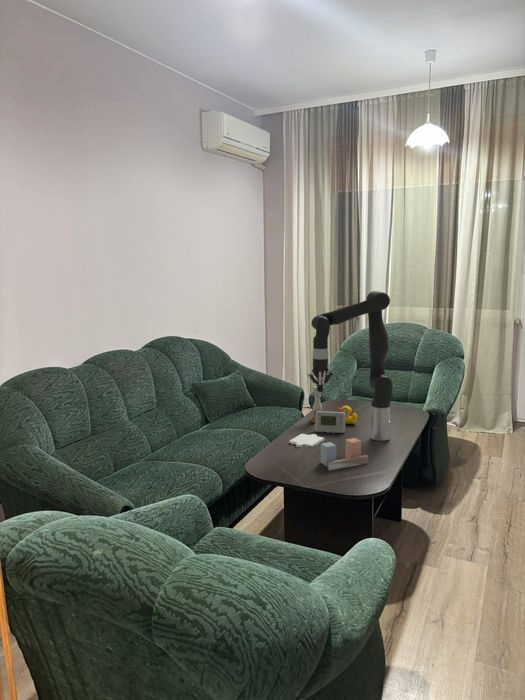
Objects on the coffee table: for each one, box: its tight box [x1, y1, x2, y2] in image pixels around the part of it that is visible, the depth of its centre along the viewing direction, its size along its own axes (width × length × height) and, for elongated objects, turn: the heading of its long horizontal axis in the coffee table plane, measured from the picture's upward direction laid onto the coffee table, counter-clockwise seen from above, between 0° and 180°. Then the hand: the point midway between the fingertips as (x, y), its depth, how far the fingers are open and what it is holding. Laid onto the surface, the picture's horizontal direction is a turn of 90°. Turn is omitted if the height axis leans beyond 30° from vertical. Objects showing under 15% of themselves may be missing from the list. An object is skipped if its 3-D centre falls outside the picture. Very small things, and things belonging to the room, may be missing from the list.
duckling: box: [337, 405, 358, 425], centre depth 300 cm, size 11×5×10 cm, turn 61°
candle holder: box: [309, 384, 325, 424], centre depth 304 cm, size 9×9×20 cm
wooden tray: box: [327, 454, 369, 472], centre depth 244 cm, size 14×20×4 cm
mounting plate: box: [288, 433, 325, 448], centre depth 272 cm, size 18×13×2 cm
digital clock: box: [314, 410, 346, 434], centre depth 287 cm, size 16×9×11 cm, turn 68°
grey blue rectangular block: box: [320, 441, 337, 467], centre depth 240 cm, size 5×5×9 cm
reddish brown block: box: [344, 437, 362, 459], centre depth 246 cm, size 5×5×9 cm
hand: (320, 391), depth 263 cm, fingers closed
